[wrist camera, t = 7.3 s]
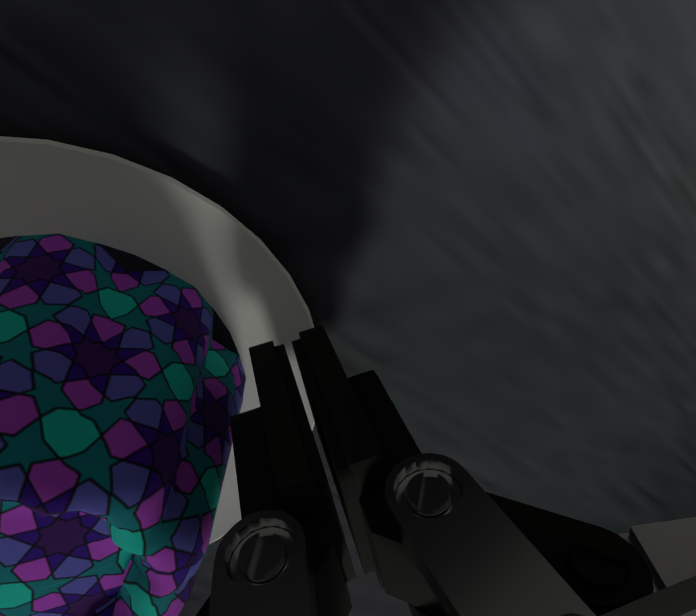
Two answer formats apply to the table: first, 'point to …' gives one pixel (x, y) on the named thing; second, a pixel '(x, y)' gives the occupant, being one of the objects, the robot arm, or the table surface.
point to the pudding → (122, 379)
